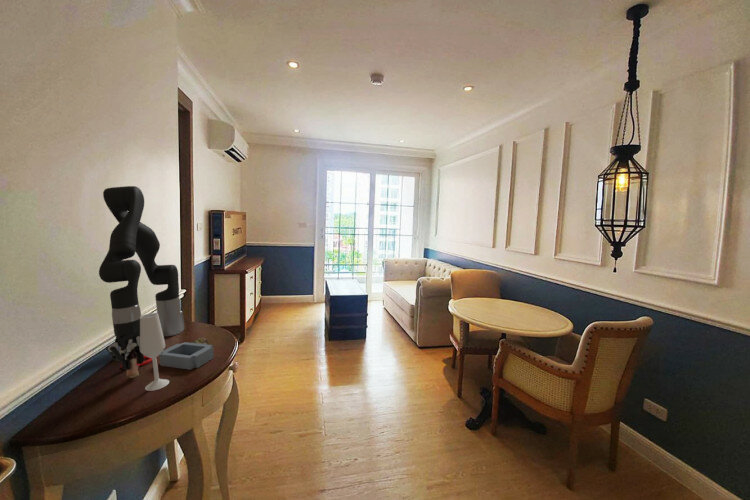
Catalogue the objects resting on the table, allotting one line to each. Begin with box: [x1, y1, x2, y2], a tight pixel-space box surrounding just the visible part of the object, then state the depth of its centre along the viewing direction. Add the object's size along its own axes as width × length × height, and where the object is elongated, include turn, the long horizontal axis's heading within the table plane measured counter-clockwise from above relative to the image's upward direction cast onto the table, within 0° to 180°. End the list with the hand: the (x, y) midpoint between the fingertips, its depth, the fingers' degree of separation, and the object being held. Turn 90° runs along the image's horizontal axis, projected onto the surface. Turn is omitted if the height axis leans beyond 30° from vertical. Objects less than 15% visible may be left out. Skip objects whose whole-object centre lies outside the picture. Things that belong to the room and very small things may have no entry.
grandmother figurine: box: [126, 343, 140, 379], centre depth 104 cm, size 8×4×13 cm, turn 50°
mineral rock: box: [191, 337, 209, 345], centre depth 129 cm, size 11×4×8 cm
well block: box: [158, 341, 215, 371], centre depth 117 cm, size 11×17×4 cm, turn 75°
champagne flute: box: [140, 312, 170, 392], centre depth 99 cm, size 7×7×24 cm
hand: (133, 366), depth 104 cm, fingers closed on grandmother figurine, 3 cm apart
